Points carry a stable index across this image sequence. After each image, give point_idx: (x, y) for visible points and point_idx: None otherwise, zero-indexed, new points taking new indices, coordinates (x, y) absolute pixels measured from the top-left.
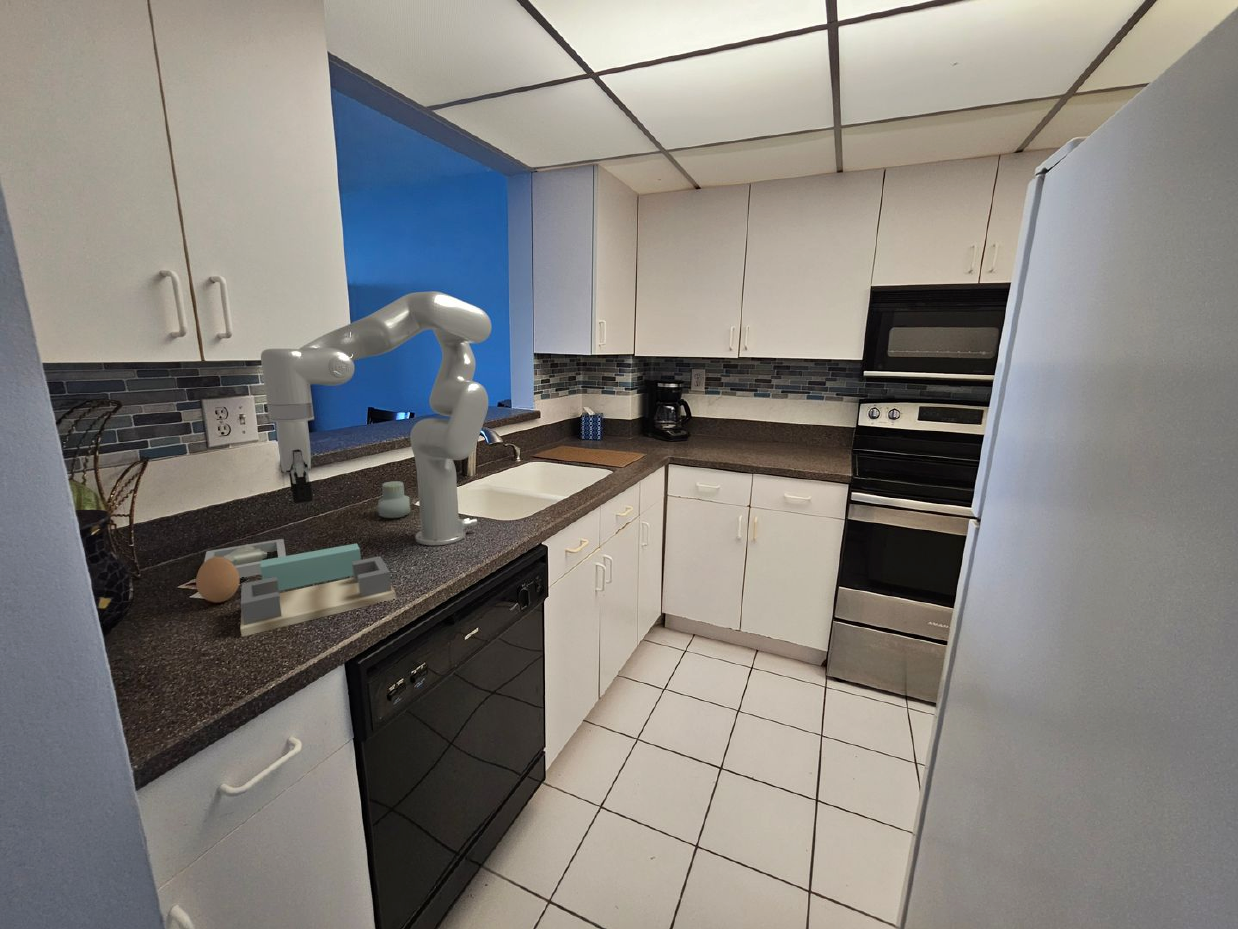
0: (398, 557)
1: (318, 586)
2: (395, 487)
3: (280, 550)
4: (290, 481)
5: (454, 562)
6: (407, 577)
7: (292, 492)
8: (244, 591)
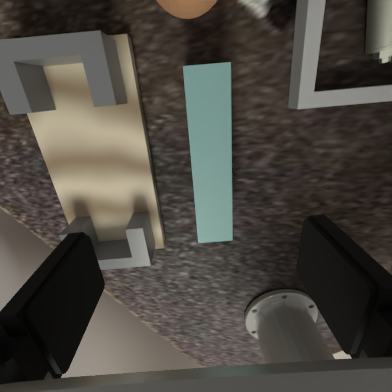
0: (234, 263)
1: (143, 163)
2: None
3: (361, 94)
4: (342, 248)
5: (176, 313)
6: (152, 265)
7: (38, 268)
8: (49, 42)
